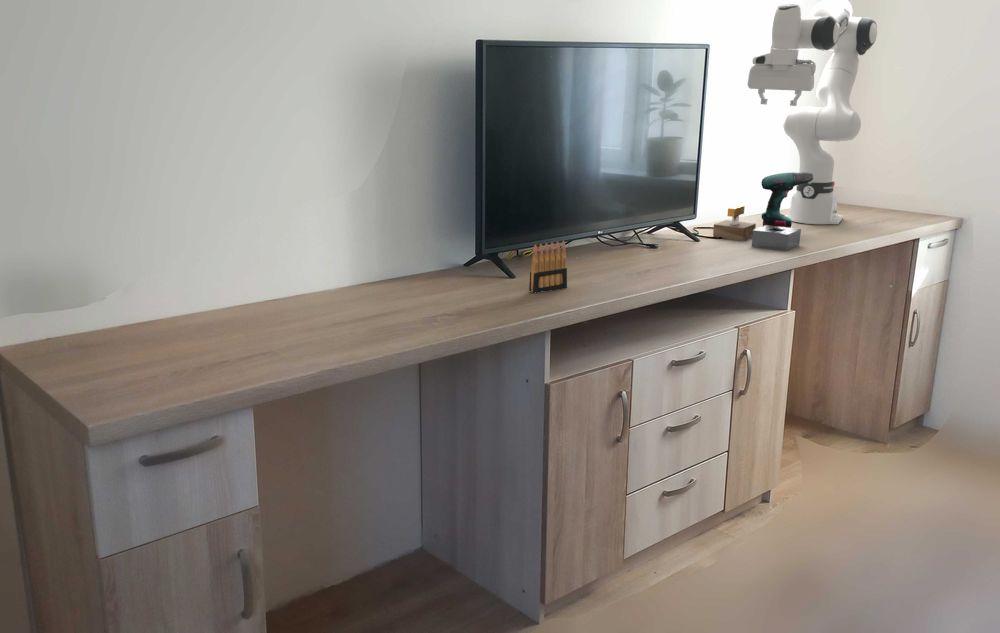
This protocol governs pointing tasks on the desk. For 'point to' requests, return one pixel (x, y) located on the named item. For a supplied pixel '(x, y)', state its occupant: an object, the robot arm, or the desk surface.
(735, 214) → the block
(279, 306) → the desk surface
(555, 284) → the ammunition clip
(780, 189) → the power drill
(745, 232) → the wooden square hole block
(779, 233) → the block
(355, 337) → the desk surface
